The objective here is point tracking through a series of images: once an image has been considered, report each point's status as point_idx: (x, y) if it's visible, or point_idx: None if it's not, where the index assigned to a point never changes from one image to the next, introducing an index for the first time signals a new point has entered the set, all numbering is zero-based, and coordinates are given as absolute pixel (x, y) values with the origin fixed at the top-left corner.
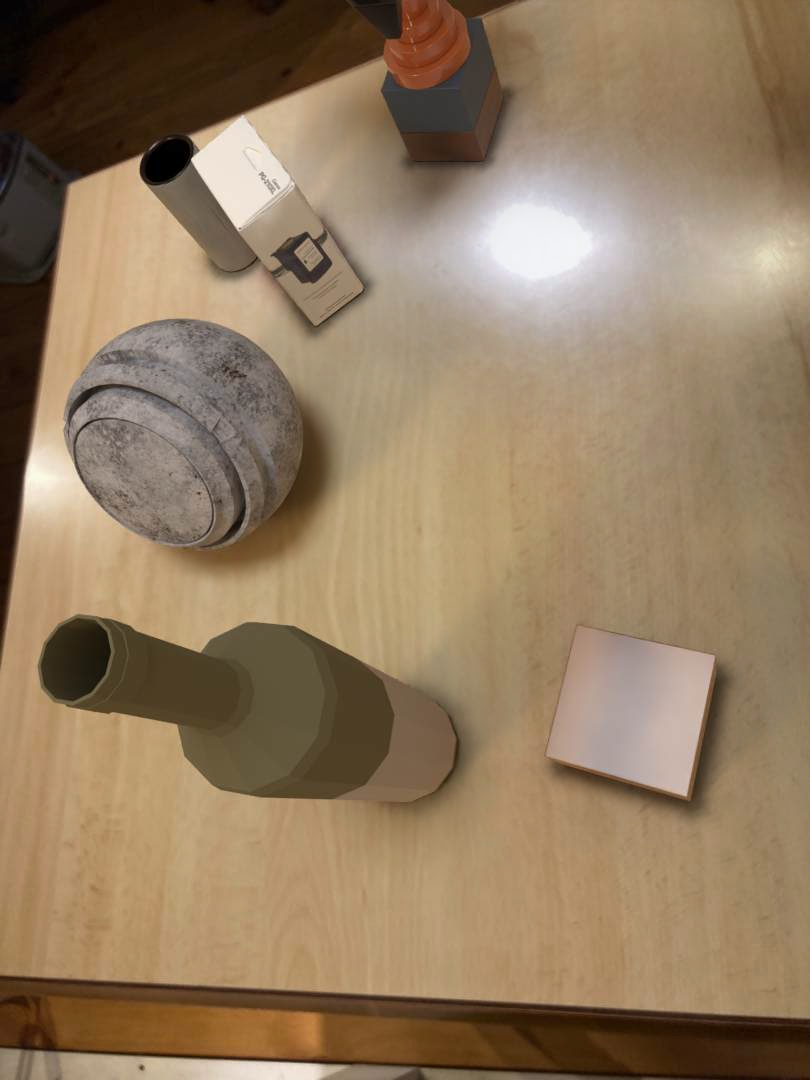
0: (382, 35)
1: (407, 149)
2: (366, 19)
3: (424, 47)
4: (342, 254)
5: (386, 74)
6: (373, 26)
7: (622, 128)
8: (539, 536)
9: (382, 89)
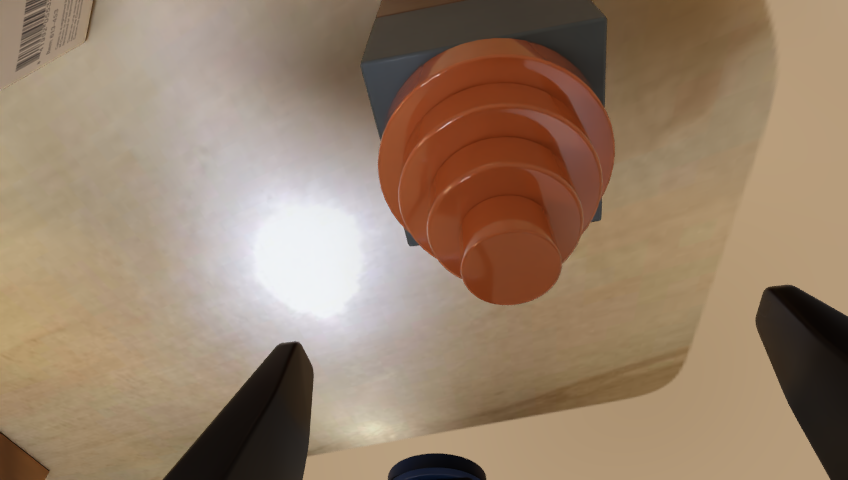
0: (269, 356)
1: (380, 4)
2: (213, 423)
3: (424, 244)
4: (35, 55)
5: (416, 54)
6: (239, 392)
7: None
8: (18, 372)
9: (366, 66)
